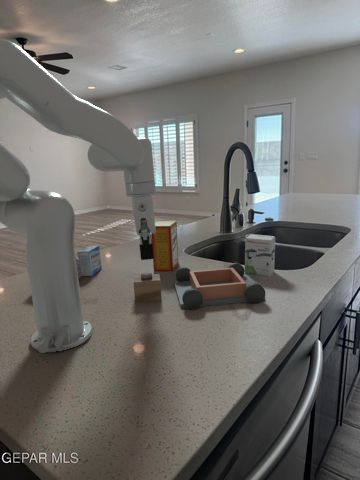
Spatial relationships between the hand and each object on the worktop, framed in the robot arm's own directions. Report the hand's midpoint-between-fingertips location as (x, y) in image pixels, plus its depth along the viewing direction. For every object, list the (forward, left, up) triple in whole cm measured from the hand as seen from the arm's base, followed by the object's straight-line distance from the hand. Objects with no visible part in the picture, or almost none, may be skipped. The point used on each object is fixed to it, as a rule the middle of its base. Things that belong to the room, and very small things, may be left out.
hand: (146, 253), depth 89 cm
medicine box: (+26, +20, -13) cm, 35 cm away
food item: (+16, +28, -13) cm, 35 cm away
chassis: (-1, -18, -13) cm, 22 cm away
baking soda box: (+25, -6, -13) cm, 29 cm away
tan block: (-1, +1, -13) cm, 13 cm away
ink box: (+12, -35, -13) cm, 40 cm away
